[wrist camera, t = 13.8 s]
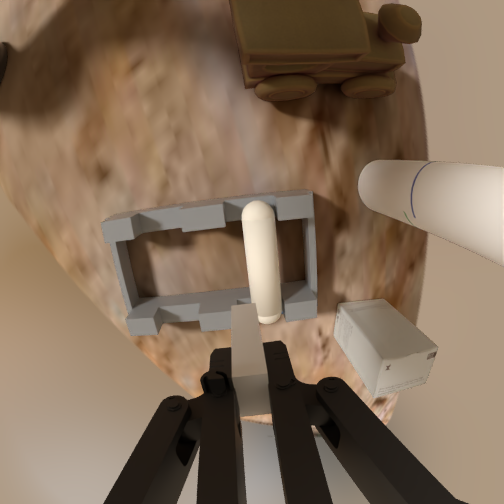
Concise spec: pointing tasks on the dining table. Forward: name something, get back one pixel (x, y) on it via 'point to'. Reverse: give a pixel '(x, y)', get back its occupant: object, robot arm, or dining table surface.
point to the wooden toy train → (321, 46)
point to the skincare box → (383, 346)
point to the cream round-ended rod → (262, 260)
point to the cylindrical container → (441, 200)
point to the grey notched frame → (213, 302)
